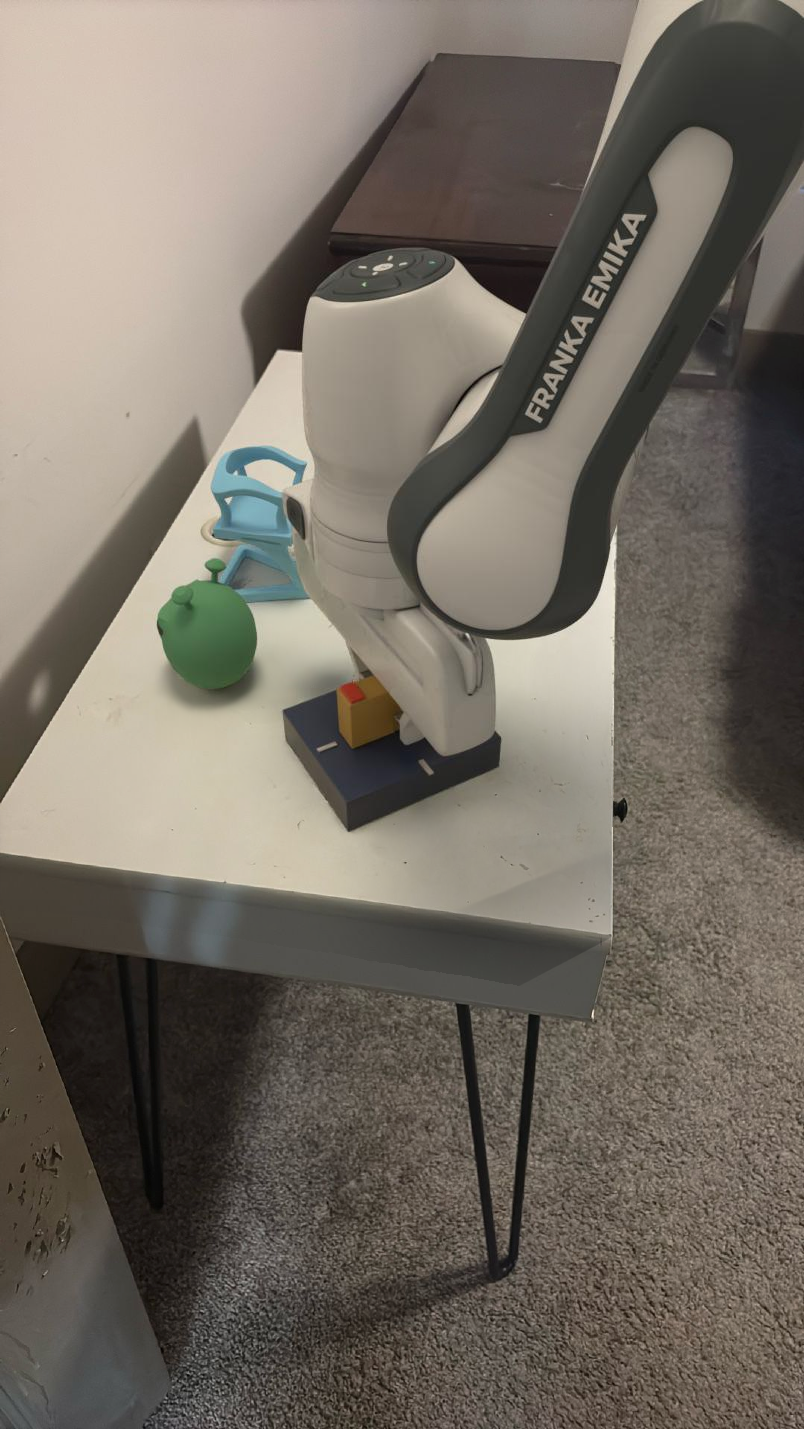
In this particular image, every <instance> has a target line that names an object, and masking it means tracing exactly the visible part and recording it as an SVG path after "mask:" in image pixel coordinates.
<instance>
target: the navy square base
mask: <svg viewBox="0 0 804 1429" xmlns="http://www.w3.org/2000/svg"><path fill="white" fill-rule="evenodd" d="M350 678H351V679H352V680H353V682H356V674H353V675H351V676H350ZM281 712H282V720H283V728H284V737H285V741H286V743H287V744H288V745H289V747H290V748H291V750H292V752H293V753H294V754H295V756H296V757H297V759H298V760H299V762H300V763H301V765H303V767H304V769H305V771H306V772H307V773H308V775H309V776H310V778H311V779H312V780H313V782H314V784H315V786H316V787H317V789H318V790H319V791H320V793H321V794H322V796H323V797H324V798H325V800H326V801H327V803H328V805H329V806H330V807H331V809H332V810H333V811H334V813H335V815H336V817H338V819H339V820H340V822H341V824H342V825H343V826H344V828H345V829H346V831H347V832H352V831H354V830H356V829H358V828H361V827H363V826H366V825H367V824H370V823H372V822H375V821H377V820H379V819H382V818H384V817H386V816H388V815H392V814H393V813H395V812H398V811H401V810H403V809H405V808H408V807H410V806H412V805H414V804H416V803H419V802H420V801H423V800H426V799H429V798H431V797H433V796H436V795H437V794H440V793H443V792H444V791H447V790H449V789H451V788H453V787H456V786H458V785H461V784H463V783H466V782H467V781H471V780H472V779H475V778H476V777H479V776H481V775H485V774H487V773H488V772H491V771H493V770H496V769H497V768H499V767H500V761H501V748H502V740H503V739H502V736H501V735H500V734H499V733H498V732H497V731H496V730H495V731H494V734H493V735H492V737H491V738H489V739H488V740H487V741H485V742H483V743H481V744H479V745H477V746H475V747H473V748H471V749H468V750H466V751H463V752H460V753H457V754H453V755H449V756H442V755H440V754H439V753H438V752H437V751H436V750H435V749H434V748H433V747H432V745H431V744H430V743H429V742H428V740H427V739H426V738H425V737H424V738H423V739H421V740H419V741H417V742H414V743H412V744H409V745H405V744H404V743H403V742H402V741H401V739H400V738H399V737H398V735H397V734H396V733H395V732H394V733H391V734H389V735H386V736H384V737H381V738H379V739H376V740H374V741H371V742H369V743H366V744H364V745H361V746H359V747H356V748H354V749H352V748H351V747H350V745H349V744H348V742H347V741H346V740H345V738H344V737H343V736H342V734H341V733H340V732H339V719H338V703H337V689H335V690H331V691H329V692H327V693H324V694H322V695H319V696H316V697H313V698H311V699H308V700H306V701H302V702H300V703H297V704H293V705H292V706H289V707H287V708H284V709H282V711H281Z"/></svg>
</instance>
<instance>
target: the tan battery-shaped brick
mask: <svg viewBox="0 0 804 1429" xmlns="http://www.w3.org/2000/svg"><path fill="white" fill-rule="evenodd" d="M336 690H337V703H338V719H339V732H340V733H341V734H342V736H343V737H344V738H345V740H346V741H347V742H348V744H349V745H350V747H351V748H352V749H354V748H356V747H359V746H361V745H364V744H366V743H369V742H371V741H374V740H376V739H379V738H381V737H384V736H386V735H389V734H391V733H394V732H395V731H394V730H393V726H394V724H393V714H396V713H398V712H401V711H402V710H401V708H400V706H399V705H398V704H397V703H396V701H395V700H394V699H393V698H392V697H391V695H390V694H389V693H388V692H387V691H386V689H385V688H384V687H383V686H382V684H381V683H380V682H379V681H378V680H377V678H376V677H375V676H374V675H373V676H370V677H367V678H364V679H362V680H359V681H356V682H354V681H350V682H347V683H345V684H342V685H339V687H338V688H336Z"/></svg>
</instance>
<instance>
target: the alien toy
mask: <svg viewBox="0 0 804 1429" xmlns="http://www.w3.org/2000/svg"><path fill="white" fill-rule="evenodd" d="M204 567H205V569H206V570H207V571H208V572H210V573H211V579H207V580H206V579H205V580H199V579H194V580H193V581H191V582H190V583H187V584H186V585H179V586H178V587H176V588H174V590H173V591H172V593H171V596H170V598H169V599H168V600H167V601H166V602H165V603H164V605H163V606H162V607H161V608H160V609H159V611H158V612H157V619H156V628H157V632H158V635H159V637H160V639H161V644H162V650H163V652H164V654H165V656H166V659H167V661H168V662H169V664H170V666H171V668H172V669H173V671H175V673H177V675H178V676H179V677H181V678H182V680H184V681H185V682H187V683H188V684H190V685H193V686H195V687H197V688H200V689H201V688H202V689H205V690H218V689H223V688H227V687H229V686H231V685H233V684H235V683H236V682H238V681H239V680H240V679H241V678H243V677H244V675H245V674H246V673H247V672H248V670H249V669H250V667H251V665H252V664H253V661H254V659H255V655H256V652H257V647H258V646H257V645H258V632H257V625H256V620H255V617H254V614H253V612H252V609H251V608H250V606H249V605H248V602H245V600H244V599H243V598H242V596H241V595H240V594H239V593H237V592H236V591H235V590H236V589H233V588H232V587H231V586H227V585H225V584H223V583H220V582H219V574H220V573H223V572H224V571H225V569H226V567H227V564H226V563H225V562H224V561H222V560H221V559H220V558H217V557H214V558H213V557H212V558H210V559H208V560H206V561H205V562H204Z"/></svg>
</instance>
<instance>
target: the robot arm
mask: <svg viewBox="0 0 804 1429" xmlns="http://www.w3.org/2000/svg"><path fill="white" fill-rule="evenodd" d="M632 20H633V21H632V24H631V28H630V31H629V36H628V40H627V43H626V47H625V51H624V54H623V57H622V61H621V65H620V69H619V72H618V76H617V80H616V83H615V87H614V90H613V94H612V98H611V101H610V105H609V109H608V112H607V115H606V119H605V122H604V126H603V128H602V132H601V136H600V138H599V141H598V145H597V149H596V152H595V155H594V158H593V161H592V164H591V166H590V170H589V172H588V175H587V178H586V181H585V184H584V187H583V190H582V192H581V193H580V194H581V195H580V197H579V199H578V201H577V204H576V206H575V208H574V211H573V213H572V215H571V218H570V220H569V222H568V224H567V226H566V229H565V231H564V233H563V234H562V237H561V239H560V241H559V243H558V245H557V247H556V250H555V252H554V255H553V257H552V259H551V261H550V263H549V265H548V267H547V269H546V271H545V274H544V275H543V278H542V279H541V282H540V284H539V286H538V289H537V290H536V293H535V295H534V297H533V299H532V301H531V304H530V306H529V308H528V310H527V313H525V312H523V311H522V310H519V309H518V308H516V307H514V306H512V305H511V304H508V303H507V302H505V301H504V300H502V299H500V298H499V297H497V296H496V295H494V294H493V293H491V292H490V291H489V290H487V289H486V288H485V287H484V286H482V285H481V284H480V283H479V282H478V281H477V280H476V279H475V278H474V277H473V275H471V274H470V273H469V271H468V270H467V268H465V266H464V265H463V264H462V263H461V262H460V261H459V260H458V259H457V258H456V257H454V256H453V255H451V254H448V253H447V252H444V251H440V250H435V249H431V248H428V247H399V248H398V247H397V248H391V249H386V250H385V249H384V250H381V251H376V252H372V253H369V254H368V255H365V256H361V257H359V258H356V259H352V260H350V261H348V262H347V263H345V264H344V265H342V266H341V267H339V268H338V269H337V270H336V269H335V271H334V272H332V273H331V274H329V276H328V277H327V278H326V279H324V280H323V281H322V282H321V283H320V284H319V285H318V286H317V288H316V289H315V291H314V292H313V293H312V294H311V296H310V297H309V300H308V302H307V306H306V309H305V314H304V315H305V316H304V322H303V329H302V330H303V332H302V344H301V346H302V347H301V396H302V412H303V413H302V417H303V429H304V437H305V441H306V444H307V447H308V449H309V451H310V454H311V456H312V460H313V468H314V470H313V478H310V479H307V480H304V481H302V482H301V483H298V484H295V485H293V484H292V485H293V486H292V485H290V486H287V487H285V488H283V489H282V492H281V493H282V501H283V509H284V513H285V516H286V517H287V519H288V520H289V521H290V523H291V531H292V540H293V544H292V546H293V552H294V558H295V559H294V560H295V561H296V565H297V570H298V574H299V577H300V580H301V582H302V585H303V587H304V589H305V591H306V593H307V595H308V596H309V597H310V598H309V599H310V600H311V601H312V602H313V603H314V605H316V606H317V608H318V609H319V611H320V612H321V613H322V614H323V615H324V617H326V619H327V620H328V622H330V624H331V625H332V627H334V629H335V630H336V631H337V632H338V634H339V635H340V636H341V637H342V639H343V640H344V642H345V645H346V649H347V650H348V653H349V657H350V660H351V662H352V664H353V666H354V667H353V668H354V669H355V671H354V672H355V675H356V681H359V680H362V679H364V678H367V677H370V676H373V675H374V676H375V677H376V678H377V680H378V681H379V682H380V683H381V684H382V686H383V687H384V688H385V689H386V691H387V692H388V693H389V694H390V695H391V697H392V698H393V699H394V700H395V701H396V703H397V704H398V705H399V706H400V708H401V710H402V711H401V712H398V713H396V714H393V724H394V726H393V730H394V731H395V733H396V734H397V735H398V737H399V738H400V739H401V741H402V742H403V743H404V744H405V745H409V744H412V743H414V742H417V741H419V740H421V739H423V738H424V737H425V738H426V739H427V740H428V742H429V743H430V744H431V745H432V747H433V748H434V749H435V750H436V751H437V752H438V753H439V754H440V755H442V756H449V755H453V754H457V753H460V752H463V751H466V750H468V749H471V748H473V747H475V746H477V745H479V744H481V743H483V742H485V741H487V740H488V739H489V738H491V737H492V735H493V734H494V731H496V723H497V694H496V675H495V674H496V673H495V664H494V659H493V655H492V650H491V648H490V645H489V643H488V641H487V639H488V640H497V641H520V640H531V639H537V638H542V637H546V636H550V635H553V634H556V633H559V632H561V631H563V630H566V629H567V628H569V627H571V626H572V625H574V624H575V623H577V621H579V620H580V619H582V618H583V617H584V616H585V615H586V614H587V613H588V612H589V610H591V608H592V607H593V605H594V604H595V602H596V600H597V598H598V596H599V594H600V592H601V588H602V585H603V583H604V582H603V581H604V578H605V574H606V571H607V566H608V563H609V559H610V553H611V544H612V541H613V538H614V536H615V532H616V530H617V526H618V523H619V521H620V517H621V515H622V512H623V509H624V505H625V504H626V500H627V497H628V494H629V490H630V488H631V485H632V483H633V481H634V480H633V479H634V477H635V474H636V471H637V469H638V464H639V462H640V458H641V455H642V452H643V450H644V445H645V443H646V440H647V437H648V433H649V428H650V424H651V422H652V421H653V419H654V417H655V415H656V414H657V412H658V410H659V409H660V407H661V405H662V404H663V402H664V400H665V399H666V397H667V395H668V393H669V391H670V390H671V388H672V386H673V384H674V383H675V381H676V379H677V378H678V376H679V374H680V373H681V370H682V369H683V367H684V366H685V364H686V362H687V360H688V358H689V357H690V355H691V353H692V352H693V351H694V349H695V346H696V345H697V343H698V342H699V340H700V338H701V336H702V334H703V333H704V331H705V329H706V328H707V326H708V324H709V323H710V321H711V319H712V318H713V315H714V314H715V312H716V310H717V309H718V307H719V305H720V304H721V302H722V300H723V299H724V297H725V295H726V293H728V291H729V289H730V287H731V285H732V283H733V282H734V280H735V278H736V277H737V275H738V274H739V272H740V271H741V269H742V267H743V265H744V264H745V263H746V261H747V260H748V258H749V257H750V255H751V254H752V253H753V251H754V249H755V248H756V247H757V245H758V244H759V243H760V241H761V240H762V239H763V237H764V236H765V234H767V232H768V231H769V230H770V228H771V227H772V225H773V224H774V223H775V221H776V220H777V219H778V217H779V216H780V215H781V213H782V212H783V211H784V209H786V207H787V206H788V205H789V203H790V202H791V201H792V199H793V198H794V197H795V195H797V193H798V192H799V190H800V189H801V188H802V187H803V186H804V0H638V2H637V6H636V9H635V13H634V16H633V19H632Z"/></svg>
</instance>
